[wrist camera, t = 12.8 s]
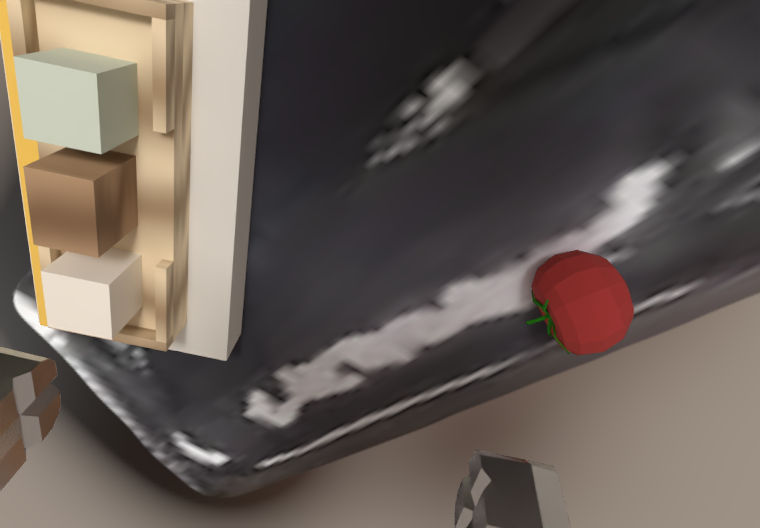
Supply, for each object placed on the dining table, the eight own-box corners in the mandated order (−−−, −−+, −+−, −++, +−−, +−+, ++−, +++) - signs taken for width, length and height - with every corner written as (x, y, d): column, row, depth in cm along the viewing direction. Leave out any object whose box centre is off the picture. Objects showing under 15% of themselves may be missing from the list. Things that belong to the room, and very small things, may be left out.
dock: (27, -89, 35) (-21, -98, 31) (270, -37, 35) (251, -40, 31) (67, 298, 49) (37, 324, 45) (240, 333, 49) (225, 362, 45)
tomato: (663, 313, 35) (552, 360, 35) (643, 345, 42) (551, 384, 42) (599, 217, 39) (500, 260, 39) (591, 261, 45) (506, 297, 46)
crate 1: (63, 47, 32) (13, 56, 28) (136, 62, 32) (96, 73, 28) (70, 120, 34) (23, 138, 30) (138, 134, 34) (101, 154, 30)
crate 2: (80, 241, 38) (40, 270, 34) (141, 254, 38) (108, 285, 34) (84, 293, 40) (47, 326, 36) (142, 305, 40) (112, 339, 36)
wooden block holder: (47, -29, 33) (-54, -32, 26) (193, 2, 33) (131, 7, 26) (78, 300, 44) (13, 358, 37) (186, 322, 44) (142, 384, 37)
